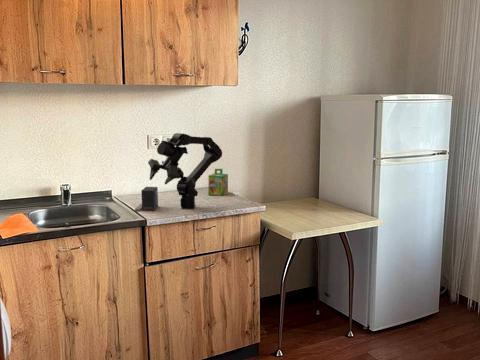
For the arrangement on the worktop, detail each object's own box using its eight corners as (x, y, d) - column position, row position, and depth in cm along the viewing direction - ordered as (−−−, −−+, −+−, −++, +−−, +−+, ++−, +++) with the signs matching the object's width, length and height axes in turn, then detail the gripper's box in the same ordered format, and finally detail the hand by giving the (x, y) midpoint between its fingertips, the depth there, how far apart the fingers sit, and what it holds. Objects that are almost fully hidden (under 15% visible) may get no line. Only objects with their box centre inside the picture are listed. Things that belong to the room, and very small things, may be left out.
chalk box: (208, 195, 267) (207, 169, 264) (213, 192, 276) (213, 167, 273) (223, 196, 264) (223, 170, 262) (228, 193, 273) (228, 168, 270)
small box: (154, 211, 230) (153, 190, 228) (141, 211, 230) (140, 190, 228) (158, 206, 240) (158, 186, 239) (146, 206, 241) (145, 186, 239)
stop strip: (145, 206, 241) (145, 203, 241) (139, 211, 230) (139, 209, 229) (140, 206, 241) (140, 203, 241) (134, 211, 230) (134, 209, 229)
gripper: (164, 162, 216) (147, 187, 221) (194, 171, 229) (178, 195, 234) (156, 148, 224) (140, 173, 229) (186, 158, 236) (170, 182, 241)
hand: (157, 181), depth 233 cm, fingers open, 9 cm apart
